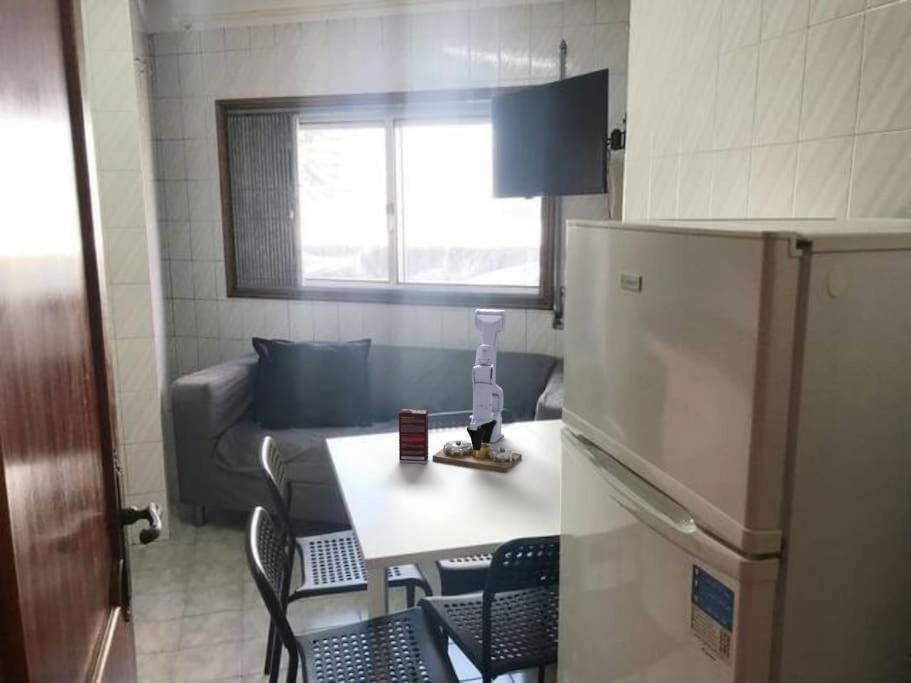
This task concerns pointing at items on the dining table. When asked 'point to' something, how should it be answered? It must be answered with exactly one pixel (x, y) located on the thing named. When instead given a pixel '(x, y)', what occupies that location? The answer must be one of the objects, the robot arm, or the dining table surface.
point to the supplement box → (413, 436)
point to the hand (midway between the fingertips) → (481, 446)
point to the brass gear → (481, 452)
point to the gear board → (462, 455)
